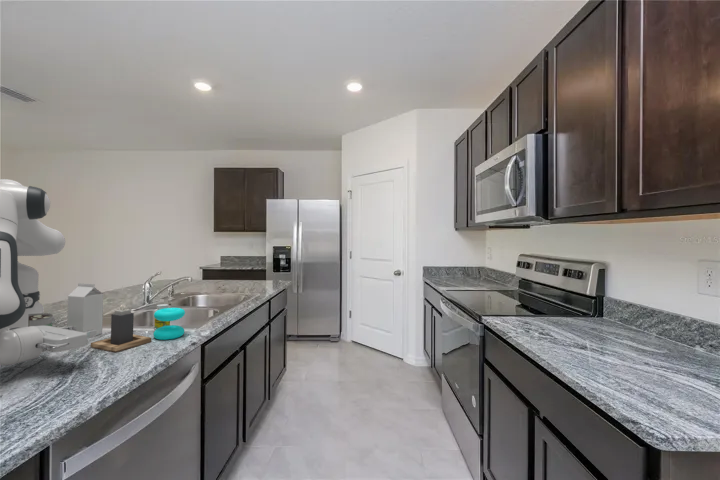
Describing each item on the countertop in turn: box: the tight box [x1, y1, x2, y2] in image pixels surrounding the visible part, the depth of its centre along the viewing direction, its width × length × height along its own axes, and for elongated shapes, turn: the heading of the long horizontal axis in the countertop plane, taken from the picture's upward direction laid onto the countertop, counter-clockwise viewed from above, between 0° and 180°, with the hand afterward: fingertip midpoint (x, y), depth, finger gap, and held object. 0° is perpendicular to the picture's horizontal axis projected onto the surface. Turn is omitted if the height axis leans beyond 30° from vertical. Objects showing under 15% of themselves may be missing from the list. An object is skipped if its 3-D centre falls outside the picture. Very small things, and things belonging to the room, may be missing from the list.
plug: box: [110, 304, 135, 345], centre depth 110 cm, size 4×4×13 cm
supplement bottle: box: [153, 303, 171, 331], centre depth 130 cm, size 5×5×10 cm
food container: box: [28, 312, 56, 327], centre depth 107 cm, size 12×6×10 cm, turn 47°
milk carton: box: [66, 282, 104, 336], centre depth 118 cm, size 7×7×19 cm
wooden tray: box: [90, 333, 152, 354], centre depth 110 cm, size 12×12×2 cm
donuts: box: [152, 307, 186, 341], centre depth 121 cm, size 10×10×10 cm
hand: (84, 330), depth 100 cm, fingers open, 8 cm apart
